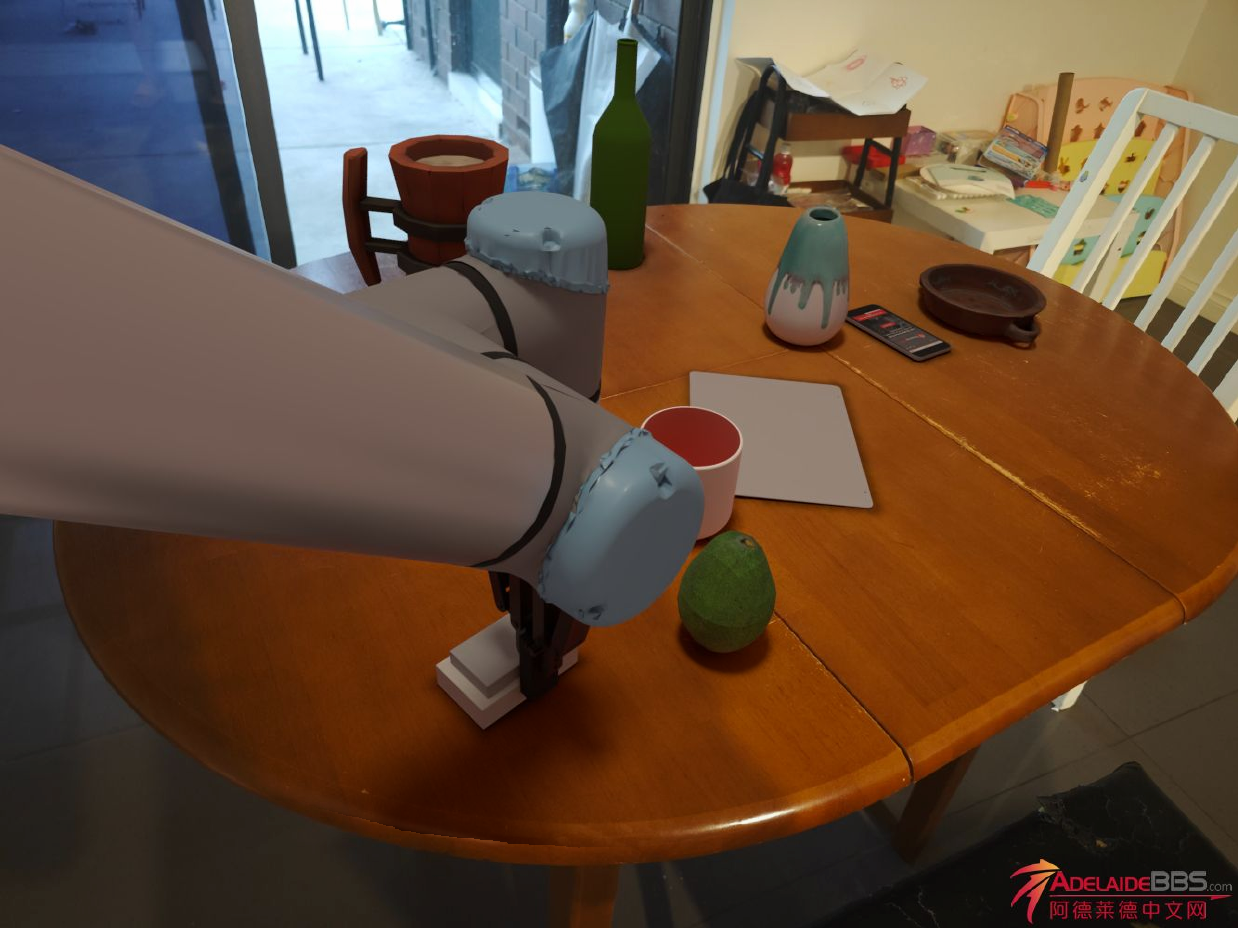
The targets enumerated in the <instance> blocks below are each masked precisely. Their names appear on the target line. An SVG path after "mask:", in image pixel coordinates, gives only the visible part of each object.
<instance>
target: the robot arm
mask: <svg viewBox="0 0 1238 928" xmlns="http://www.w3.org/2000/svg"><path fill="white" fill-rule="evenodd" d="M464 242H465V248H466V249H465V250H467V254H466V255H465V256H463V257H461V258H457V259H454V260H451V261H448V262H445V263H444V264H442V265H441V266H438V267H436V268H431V269H428V270H424V271H421V272H417V273H414V274H411V275H407V276H406V275H405V276H404V275H403V276H401V277H397V278H394V279H391V280H387V281H384V282H381V283H380V284H376V285H373V286H370V287H368V286H367V287H363V288H360V289H355V290H352V291H349V292H345V293H342V292H340V291H337V290H335V289H333V288H330V287H328V286H326V285H323V284H321V283H319V282H318V281H314V280H312V279H311V278H308V277H305V276H303V275H301V274H299V273H296V272H294V271H291V270H290V269H287V268H285V267H283V266H281V265H278V264H275V263H273V262H271V261H269V260H266V259H265V258H262V257H260V256H258V255H255V254H253V253H250V252H248V251H246V250H244V249H242V248H239V247H237V246H235V245H233V244H230V243H228V242H225V241H223V240H221V239H218V238H216V237H214V236H211V235H210V234H207V233H204V232H203V231H201V230H198V229H196V228H193V227H191V226H188V225H187V224H184V223H182V222H179V221H177V220H175V219H173V218H170V217H168V216H166V215H163V214H162V213H159V212H157V211H154V210H152V209H150V208H148V207H145V206H143V205H140V204H138V203H136V202H134V201H131V200H129V199H126V198H125V197H122V196H120V195H118V194H116V193H114V192H111V191H109V190H106V189H104V188H102V187H100V186H97V185H95V184H93V183H90V182H88V181H86V180H83V179H81V178H79V177H77V176H75V175H72V174H70V173H68V172H65V171H63V170H60V169H59V168H56V167H54V166H52V165H49V164H47V163H45V162H42V161H40V160H38V159H35V158H33V157H31V156H28V155H26V154H25V153H23V152H20V151H17V150H15V149H12V148H10V147H8V146H6V145H3V144H2V143H0V514H1V515H7V516H8V515H9V516H17V517H27V518H36V519H44V520H53V521H60V522H61V521H62V522H70V523H82V524H89V525H97V526H107V527H115V528H125V529H133V530H141V531H142V530H143V531H150V532H159V533H168V534H178V535H185V536H187V535H188V536H196V537H202V538H203V537H206V538H213V539H221V540H231V541H239V542H249V543H257V544H266V545H275V546H282V547H283V546H284V547H293V548H302V549H311V550H321V551H328V552H329V551H330V552H336V553H337V552H338V553H346V554H354V555H365V556H373V557H382V558H390V559H399V560H408V561H417V562H426V563H434V564H444V565H452V566H458V567H466V568H472V569H476V570H481V571H487V573H488V577H489V582H490V586H491V591H492V595H493V601H494V604H495V606H496V609H497V610H498V611H499V612H501V613H506V612H508V613H509V614H510V622H511V624H512V626H513V628H514V629H515V630H516V648H517V651H518V653H519V664H520V692H521V693H522V694H523V695H524V696H525V697H526V698H527V699H526V700H528V701H529V702H530V703H532V704H533V703H534V702H535V701H538V699H540V698H541V697H542V696H544V695H545V694H547V693H548V692H549V691H551V690H552V689H554V688H555V687H557V686H558V684H559V675H558V669H560V668H561V667H562V665H563V657H564V656H565V655H566V654H568V653H569V652H571V651H572V650H573V649H575V648H576V647H578V648H579V646H581V645H582V644H583V643H585V641H586V639H587V637H588V634H589V631H590V629H591V627H594V628H609V627H612V626H616V625H617V626H618V625H620V624H622V623H625V622H627V621H629V620H631V619H633V618H635V617H636V616H638V615H639V614H641V613H643V612H644V611H646V610H647V609H648V608H649V607H650V606H651V605H653V603H655V602H656V601H657V600H658V599H659V598H660V597H661V596H662V595H663V594H664V593H665V592H666V590H667V589H668V588H669V587H670V586H671V585H672V583H673V582H674V580H675V579H676V578H677V576H678V575H679V574H680V572H681V570H682V567H683V566H684V565H685V563H686V561H687V559H689V556H690V554H691V552H692V550H693V549H694V546H695V545H696V542H697V541H698V540H697V537H698V535H699V532H700V529H701V525H702V521H703V515H704V507H705V497H704V490H703V485H702V482H701V480H700V477H699V476H698V474H697V472H696V471H695V469H694V468H693V466H692V465H690V464H689V463H688V462H687V461H686V460H685V459H683V458H682V457H680V456H679V455H677V454H676V453H674V452H673V451H671V450H670V449H668V448H667V447H665V446H664V445H662V444H661V443H660V442H658V441H657V440H655V439H654V438H653V436H652V433H650V432H649V431H647V430H645V429H643V428H642V429H640V428H641V427H639V426H634V425H632V424H631V423H628V422H627V421H625V420H624V419H622V418H620V417H618V415H616V414H614V413H612V412H611V411H609V410H607V409H605V408H604V407H602V406H601V397H602V392H601V391H602V371H603V357H604V344H605V329H606V316H607V315H606V314H607V301H608V299H607V298H608V293H609V292H610V288H611V285H610V284H611V283H610V282H609V269H608V253H607V232H606V227H605V224H604V221H603V219H602V218H601V216H600V215H599V214H598V213H597V211H595V210H594V209H593V208H592V207H590V204H587V203H586V202H583V201H581V200H578V199H576V198H574V197H572V196H569V195H566V194H561V193H555V192H550V191H549V192H548V191H539V190H524V191H523V190H521V191H511V192H505V193H503V194H499V195H496V196H492V197H490V198H487V199H486V200H484V201H483V202H482V204H481V205H478V206H476V207H475V208H474V209H473V210H472V211H471V212H470V214H469V216H468V220H467V237H466V238H465V240H464ZM507 589H509V590H507Z"/></svg>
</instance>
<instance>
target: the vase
mask: <svg viewBox="0 0 1238 928" xmlns="http://www.w3.org/2000/svg"><path fill="white" fill-rule="evenodd" d="M848 235H849V233H848V229H847V225H846V221H845V219H844V216H843V215H842V214H841V212H840V211H839V210H837V209H836V208H833V207H830V206H823V205H818V206H817V205H816V206H812V207H810V208H808V209H806V210H805V211H804V212H803V213H802V214H801V215H800V216H799V218H797V220H796V222H795V224H794V226H793V228H792V229H791V232H790V234H789V237H788V239H787V241H786V244H785V246H784V249H783V251H782V253H781V255H780V257H779V259H778V262H777V264H776V266H775V268H774V271H773V272H772V275H771V276H770V278H769V281H768V284H767V287H766V290H765V294H764V298H763V306H762V307H763V308H762V309H763V310H762V311H763V316H764V320H765V322H766V325H767V327H768V328H769V330H770V331H771V333H773V335H775V336H776V338H778V339H780V340H781V341H784V342H786V343H789V344H791V345H795V346H803V347H812V346H817V345H821V344H824V343H826V342H828V341H830V340H831V339H832V338H833V337H835V336H836V335H837V334H838V333H839V332H840V331H841V329H842V328H843V326H844V324H845V323H846V321H847V320H846V317H847V313H848V311H849V308H850V297H851V294H850V293H851V292H850V291H851V289H850V287H851V286H850V285H851V283H850V280H851V279H850V278H851V277H850V274H851V272H850V261H849V259H850V258H849V255H850V254H849V236H848Z"/></svg>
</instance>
